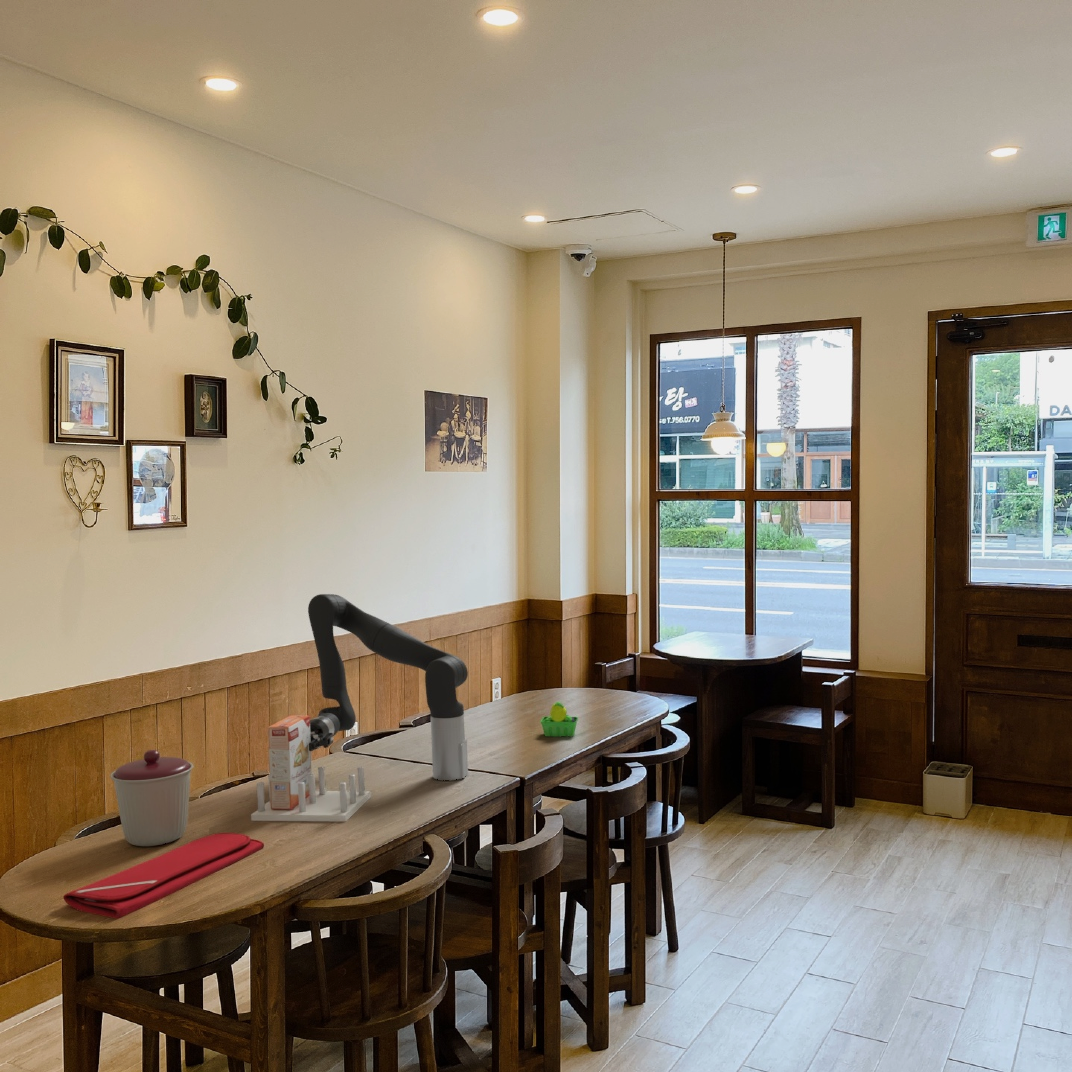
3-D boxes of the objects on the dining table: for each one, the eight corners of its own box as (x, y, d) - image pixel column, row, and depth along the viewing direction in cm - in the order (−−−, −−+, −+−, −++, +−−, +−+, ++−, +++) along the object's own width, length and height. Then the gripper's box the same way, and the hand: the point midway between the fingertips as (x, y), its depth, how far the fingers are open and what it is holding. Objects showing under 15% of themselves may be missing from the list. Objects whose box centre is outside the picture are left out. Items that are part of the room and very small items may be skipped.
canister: (109, 836, 239) (104, 748, 239) (188, 822, 248) (184, 737, 247) (119, 859, 224) (114, 764, 223) (203, 842, 232) (199, 751, 232)
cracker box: (293, 810, 249) (289, 726, 248) (270, 810, 250) (266, 726, 249) (314, 793, 263) (310, 714, 262) (292, 793, 264) (288, 714, 263)
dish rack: (370, 796, 264) (369, 764, 263) (345, 821, 244) (344, 786, 244) (283, 796, 267) (281, 764, 267) (251, 820, 247) (249, 786, 247)
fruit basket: (579, 732, 327) (577, 697, 327) (575, 738, 319) (574, 703, 318) (544, 731, 329) (543, 697, 329) (539, 738, 321) (538, 703, 320)
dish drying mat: (266, 850, 227) (265, 833, 227) (120, 922, 190) (119, 902, 190) (212, 842, 234) (211, 826, 234) (61, 910, 197) (60, 891, 197)
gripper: (290, 718, 275) (266, 733, 259) (341, 718, 273) (320, 732, 257) (292, 746, 275) (268, 762, 259) (342, 746, 273) (321, 761, 257)
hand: (294, 747), depth 258 cm, fingers open, 8 cm apart
